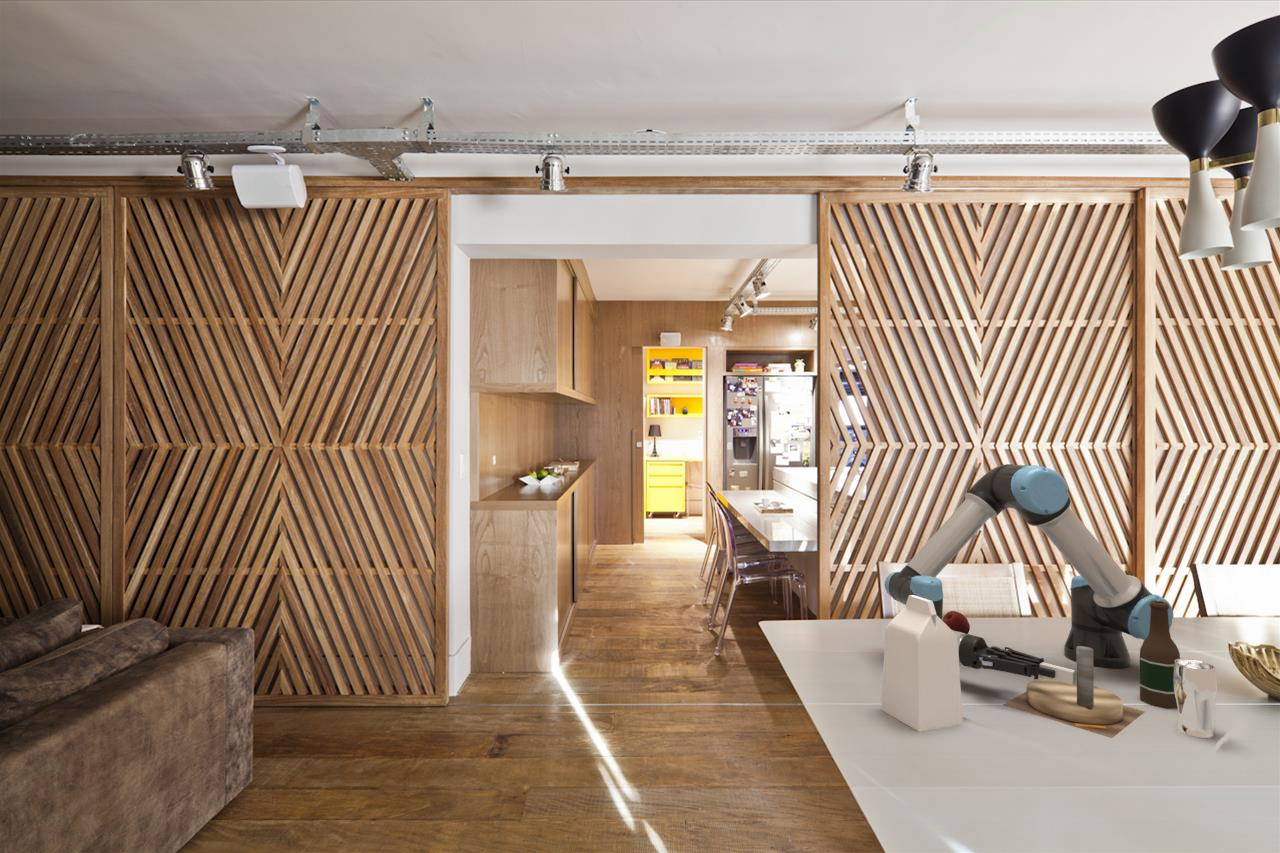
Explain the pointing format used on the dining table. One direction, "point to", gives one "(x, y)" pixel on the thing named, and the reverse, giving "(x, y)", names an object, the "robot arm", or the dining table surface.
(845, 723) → the dining table surface
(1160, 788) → the dining table surface
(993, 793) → the dining table surface
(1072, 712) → the cam dial
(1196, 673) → the beer glass
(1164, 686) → the beer bottle
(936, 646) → the milk
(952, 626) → the apple
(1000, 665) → the robot arm
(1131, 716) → the dial base
